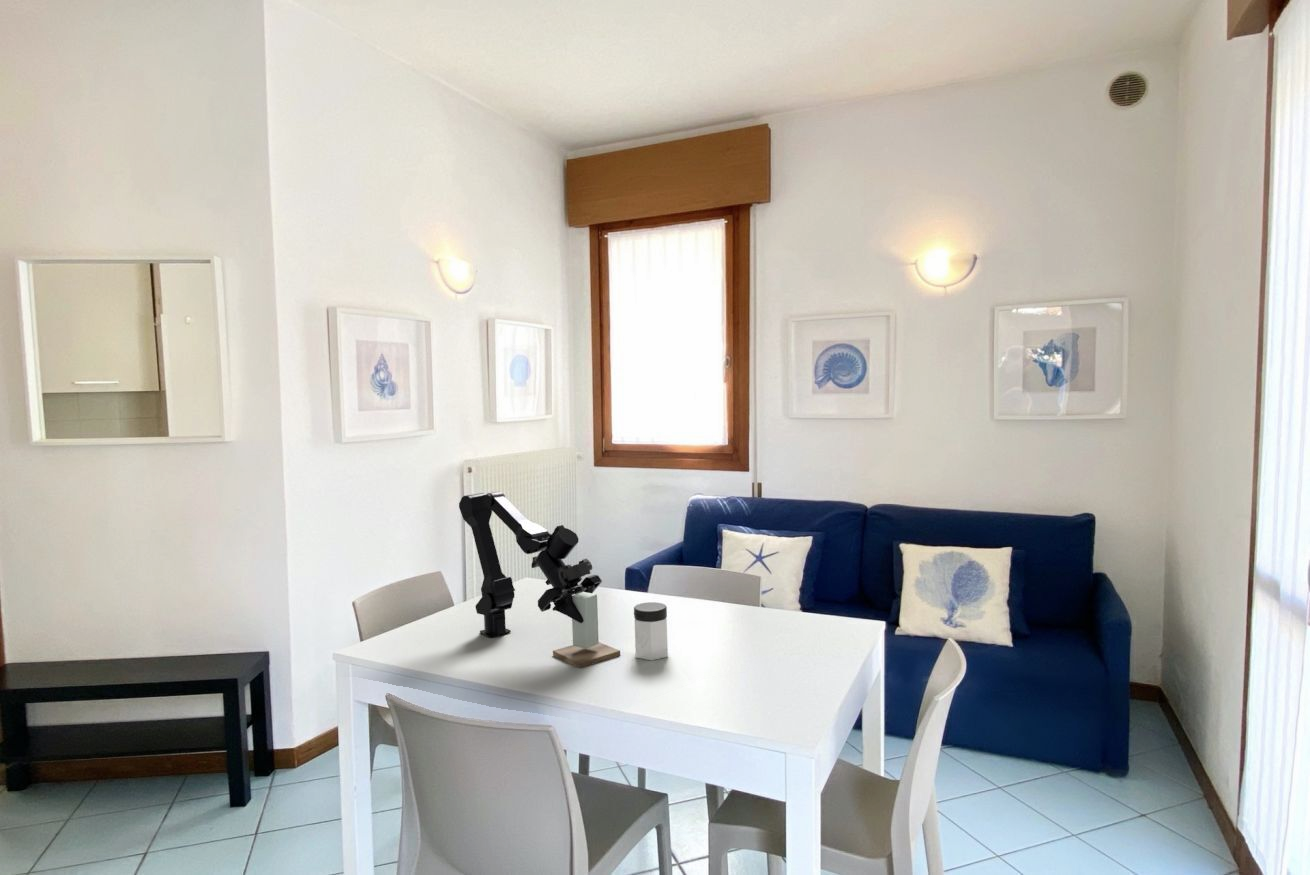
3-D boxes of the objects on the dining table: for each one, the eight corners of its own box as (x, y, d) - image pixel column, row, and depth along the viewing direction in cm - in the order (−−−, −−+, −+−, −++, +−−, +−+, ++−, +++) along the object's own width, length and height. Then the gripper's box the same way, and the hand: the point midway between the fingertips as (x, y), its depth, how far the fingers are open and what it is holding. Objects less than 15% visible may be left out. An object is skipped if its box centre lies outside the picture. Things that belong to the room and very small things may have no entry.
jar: (627, 657, 173) (626, 608, 172) (644, 646, 180) (642, 600, 179) (659, 662, 168) (657, 613, 168) (675, 651, 175) (673, 604, 175)
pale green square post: (573, 645, 174) (571, 596, 174) (585, 640, 178) (583, 591, 177) (586, 649, 171) (584, 598, 171) (598, 643, 175) (597, 594, 174)
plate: (553, 655, 175) (552, 650, 175) (592, 643, 183) (592, 639, 183) (580, 668, 166) (579, 663, 166) (620, 655, 174) (620, 650, 174)
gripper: (544, 557, 168) (580, 609, 162) (595, 543, 183) (629, 591, 177) (522, 585, 173) (556, 637, 167) (574, 570, 188) (606, 617, 182)
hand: (589, 619), depth 173 cm, fingers closed on pale green square post, 4 cm apart
